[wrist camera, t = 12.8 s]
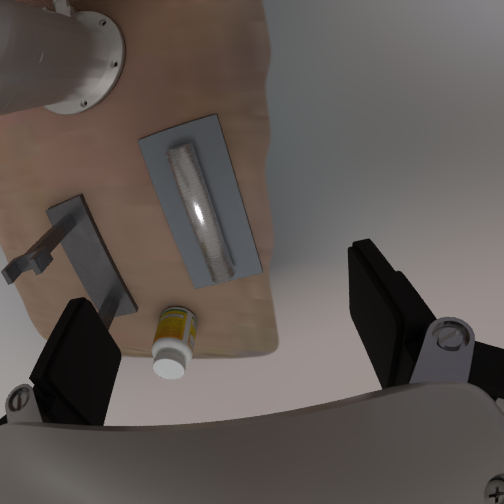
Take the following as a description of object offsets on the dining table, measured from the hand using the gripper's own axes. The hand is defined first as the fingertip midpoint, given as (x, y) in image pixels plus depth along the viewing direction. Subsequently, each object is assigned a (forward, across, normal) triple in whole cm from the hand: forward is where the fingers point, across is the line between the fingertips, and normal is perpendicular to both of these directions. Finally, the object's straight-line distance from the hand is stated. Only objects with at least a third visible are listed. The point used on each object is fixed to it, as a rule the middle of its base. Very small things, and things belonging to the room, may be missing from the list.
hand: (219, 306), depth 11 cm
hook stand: (+26, +21, +9) cm, 35 cm away
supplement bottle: (+26, +12, +21) cm, 36 cm away
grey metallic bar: (+24, +4, +6) cm, 25 cm away
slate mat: (+26, +4, +6) cm, 27 cm away
